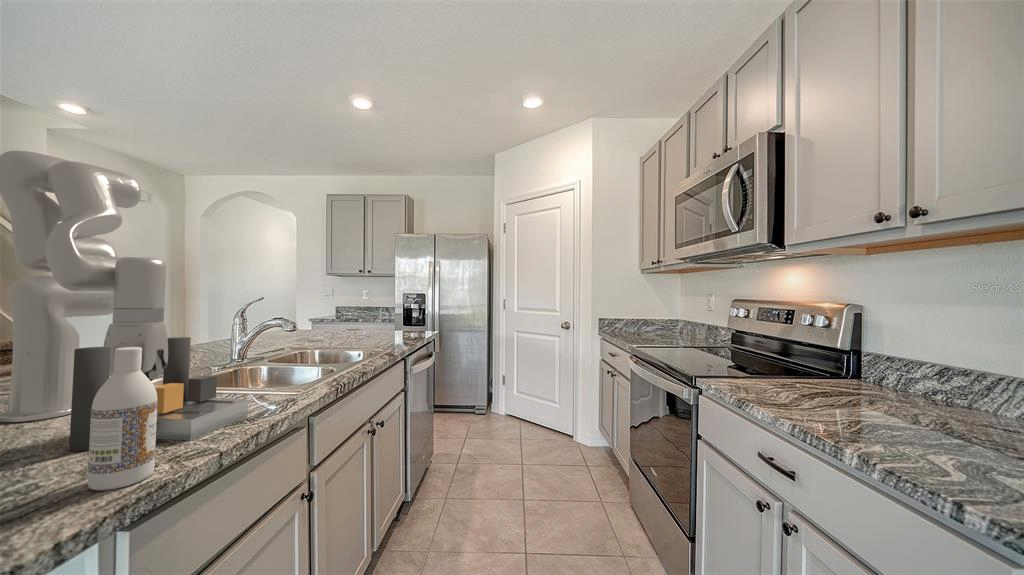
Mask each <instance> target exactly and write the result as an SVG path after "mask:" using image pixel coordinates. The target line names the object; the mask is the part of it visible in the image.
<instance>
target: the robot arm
mask: <svg viewBox="0 0 1024 575" xmlns="http://www.w3.org/2000/svg"><path fill="white" fill-rule="evenodd" d="M47 193H51V194H54V196H55V199H56V201H55V200H54V199H52V198H51V197H50V196H48V194H47ZM0 196H1V199H2V201H3V202H4V204H5V206H6V208H7V210H8V212H9V217H10V222H11V224H10V226H11V233H12V241H13V242H12V243H13V252H14V256H15V259H16V262H17V263H18V266H20V267H22V268H23V269H25V270H28V271H33V272H41V273H42V272H43V273H51V274H52V275H35V276H28V277H23V278H21V279H20V278H19V279H18V280H16V281H14V282H13V283H12V284H11V285H10V287H9V289H8V295H7V296H8V303H9V307H10V311H11V317H12V326H13V332H12V333H13V336H12V358H11V361H12V362H11V375H10V376H11V378H10V379H11V380H10V392H9V395H8V396H7V398H6V397H5V398H3V399H2V400H1V399H0V400H1V401H0V404H1V405H6V406H7V410H5V411H2V412H0V423H21V422H22V423H23V422H31V421H40V420H47V419H52V418H58V417H62V416H67V415H71V406H72V387H73V369H74V350H75V349H79V348H80V340H81V339H80V334H79V331H78V330H77V329H76V328H75V326H73V325H72V323H70V322H69V321H68V320H67V319H66V318H72V317H97V316H98V317H100V316H108V315H109V316H110V315H112V323H109V325H108V328H107V330H106V333H105V337H104V342H103V346H102V347H111V353H110V373H109V377H110V376H111V375H112V374H113V373H114V353H115V349H117V348H125V347H141V348H142V361H141V369H140V370H141V371H142V372H143V373H144V374H145V375H146V377H147V378H148V379H149V380H150V381H151V382H152V381H153V380H154V379H158V378H163V370H164V369H165V368H166V366H167V362H168V338H169V337H168V331H167V326H166V323H165V307H166V306H165V305H166V304H165V302H166V286H167V284H166V282H167V263H166V262H165V261H163V260H162V259H158V258H153V257H144V256H143V257H140V256H123V257H120V256H118V254H117V252H116V249H115V248H114V246H113V245H112V244H111V243H110V242H108V241H107V240H104V239H102V238H99V237H97V236H102V235H107V234H109V233H113V232H114V231H116V230H117V229H119V228H120V227H121V225H122V224H123V217H122V214H121V212H120V210H119V208H124V209H131V208H134V207H135V206H137V205H138V204H139V203H140V201H141V196H142V190H141V187H140V184H139V183H138V182H137V180H136V179H135V178H134V177H132V176H131V175H130V174H127V173H124V172H121V171H117V170H113V169H108V168H106V167H101V166H98V165H97V166H96V165H93V164H90V163H89V164H88V163H85V162H80V161H73V160H72V161H71V160H67V159H63V158H60V157H56V156H52V155H49V154H43V153H39V152H35V151H34V152H33V151H28V150H9V151H4V152H3V153H1V154H0Z"/></svg>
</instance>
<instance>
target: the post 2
mask: <svg viewBox="0 0 1024 575" xmlns="http://www.w3.org/2000/svg"><path fill="white" fill-rule="evenodd" d="M167 338H168V362H167V366H166V368H165V369H163V376H162V385H164V384H169V383H182V384H184V390H183V402H187V401H188V379H190V363H191V362H190V358H191V340H192V337H189V336H179V337H178V336H177V337H176V336H175V337H167Z"/></svg>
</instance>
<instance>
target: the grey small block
mask: <svg viewBox="0 0 1024 575" xmlns="http://www.w3.org/2000/svg"><path fill="white" fill-rule="evenodd" d="M217 378H218V375H215V374H214V375H212V374H210V375H209V374H203V375H200V376H196V377H195V376H194V377H191V378H190V377H189V379H188V401H187V402H202V401H205V400H209V399H212V398H217Z"/></svg>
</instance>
